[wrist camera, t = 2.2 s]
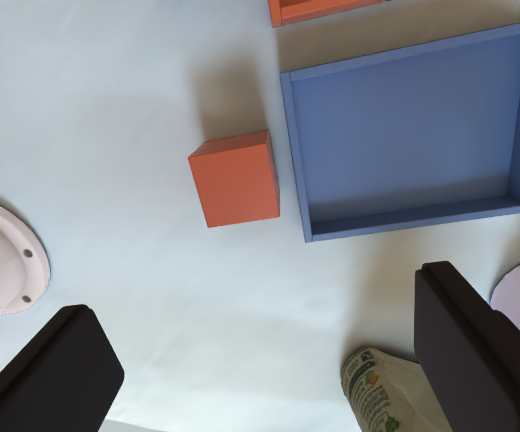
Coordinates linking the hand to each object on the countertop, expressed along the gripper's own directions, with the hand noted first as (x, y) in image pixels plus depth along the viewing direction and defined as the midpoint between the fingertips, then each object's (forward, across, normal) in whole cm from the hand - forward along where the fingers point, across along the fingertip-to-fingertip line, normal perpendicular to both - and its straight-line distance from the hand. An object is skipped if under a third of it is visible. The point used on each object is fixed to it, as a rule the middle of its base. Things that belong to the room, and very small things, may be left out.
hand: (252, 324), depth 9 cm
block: (+17, +2, 0) cm, 17 cm away
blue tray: (+17, -10, 0) cm, 20 cm away
